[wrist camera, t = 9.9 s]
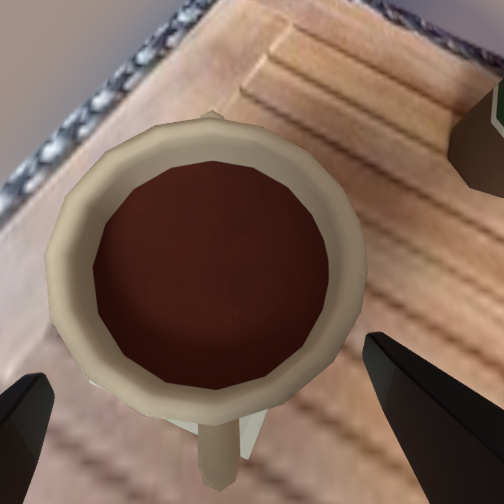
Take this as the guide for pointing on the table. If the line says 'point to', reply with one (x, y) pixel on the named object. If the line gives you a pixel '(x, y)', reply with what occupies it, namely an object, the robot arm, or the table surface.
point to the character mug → (206, 276)
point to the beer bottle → (481, 144)
